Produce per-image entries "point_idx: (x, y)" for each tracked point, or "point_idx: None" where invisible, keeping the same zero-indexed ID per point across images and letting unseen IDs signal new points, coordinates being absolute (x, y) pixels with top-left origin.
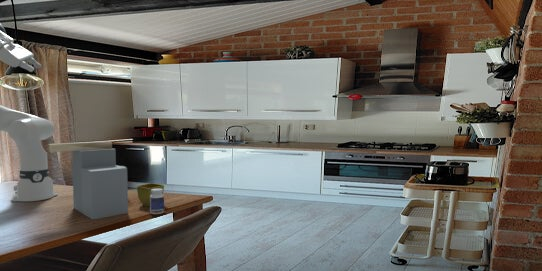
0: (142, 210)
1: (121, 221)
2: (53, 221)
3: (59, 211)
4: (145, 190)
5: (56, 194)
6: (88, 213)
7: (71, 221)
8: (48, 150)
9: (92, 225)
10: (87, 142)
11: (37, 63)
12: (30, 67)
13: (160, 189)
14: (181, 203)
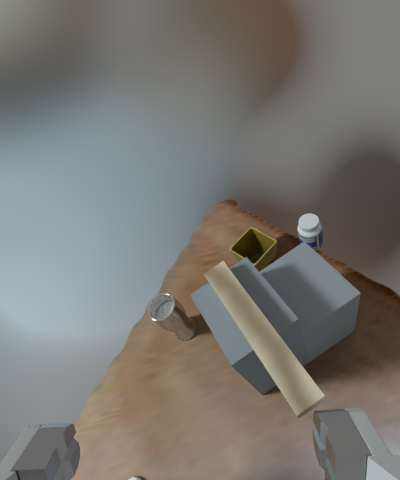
0: None
1: (364, 280)
2: (368, 405)
3: (287, 419)
4: (270, 251)
5: (137, 477)
6: (336, 341)
7: (367, 366)
8: (303, 414)
9: (392, 320)
10: (243, 310)
11: (50, 455)
12: (380, 443)
13: (309, 215)
14: (256, 224)
